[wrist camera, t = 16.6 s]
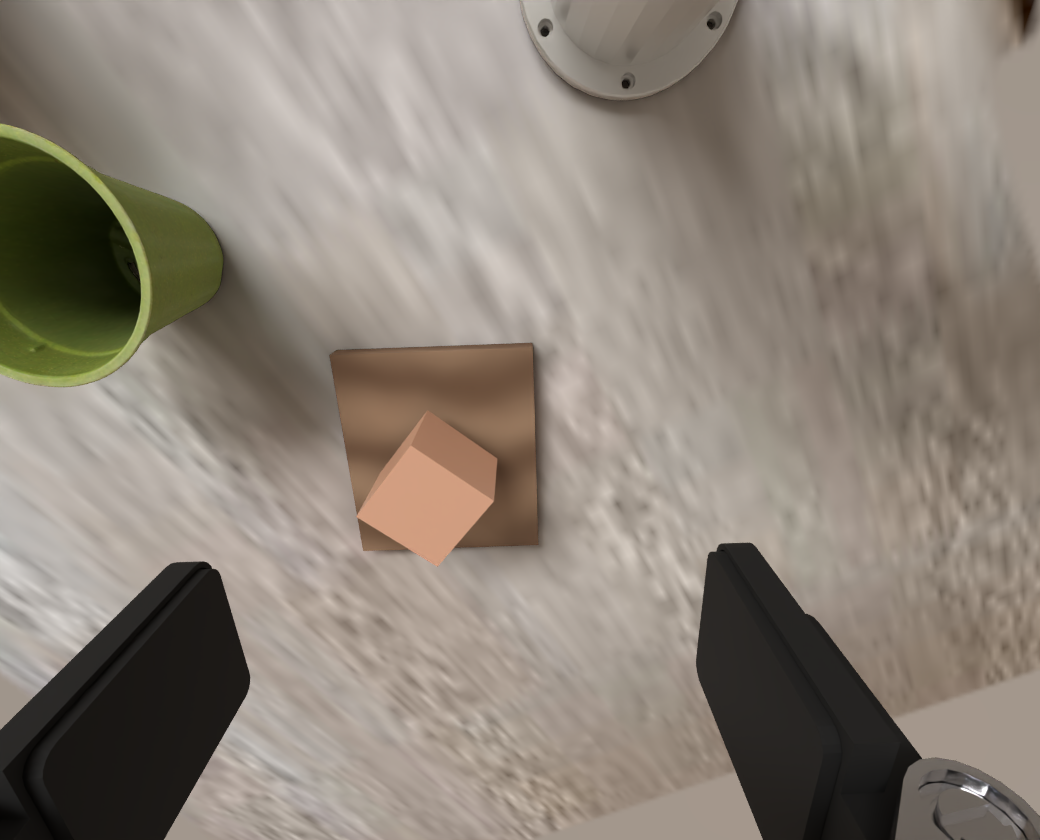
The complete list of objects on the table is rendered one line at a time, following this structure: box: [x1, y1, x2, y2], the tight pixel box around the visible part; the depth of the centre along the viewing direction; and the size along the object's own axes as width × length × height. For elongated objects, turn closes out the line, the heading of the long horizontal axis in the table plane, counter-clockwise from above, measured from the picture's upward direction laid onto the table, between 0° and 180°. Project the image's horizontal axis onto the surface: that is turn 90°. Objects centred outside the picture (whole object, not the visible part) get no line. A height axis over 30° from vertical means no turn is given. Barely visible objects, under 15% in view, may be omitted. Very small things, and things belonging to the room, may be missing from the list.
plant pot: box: [0, 124, 223, 387], centre depth 29 cm, size 12×12×11 cm
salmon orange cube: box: [356, 410, 497, 567], centre depth 34 cm, size 6×6×6 cm
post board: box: [330, 343, 538, 551], centre depth 36 cm, size 16×14×8 cm
